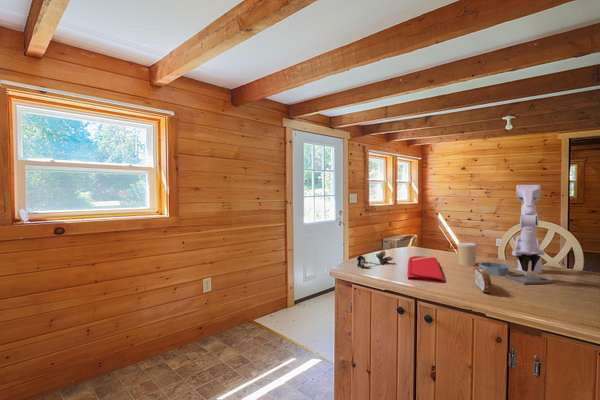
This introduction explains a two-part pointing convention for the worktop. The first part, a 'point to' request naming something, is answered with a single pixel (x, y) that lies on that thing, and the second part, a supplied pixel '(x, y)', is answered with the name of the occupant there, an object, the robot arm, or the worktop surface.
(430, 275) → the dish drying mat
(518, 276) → the tray
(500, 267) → the blue-grey octagonal bowl
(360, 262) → the artificial flower
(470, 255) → the coffee cup
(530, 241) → the robot arm
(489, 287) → the tin
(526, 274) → the dowel pin
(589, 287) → the worktop surface
